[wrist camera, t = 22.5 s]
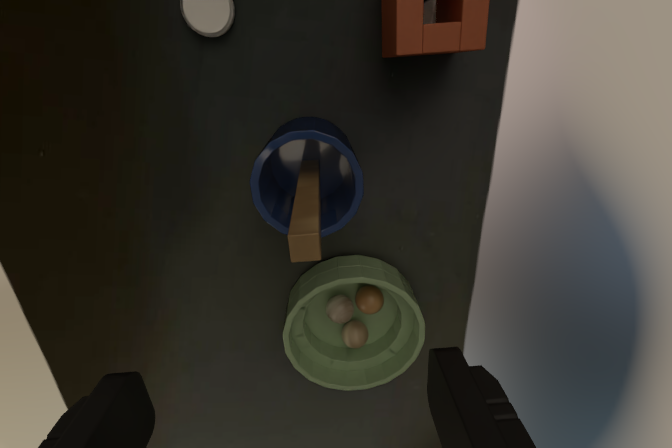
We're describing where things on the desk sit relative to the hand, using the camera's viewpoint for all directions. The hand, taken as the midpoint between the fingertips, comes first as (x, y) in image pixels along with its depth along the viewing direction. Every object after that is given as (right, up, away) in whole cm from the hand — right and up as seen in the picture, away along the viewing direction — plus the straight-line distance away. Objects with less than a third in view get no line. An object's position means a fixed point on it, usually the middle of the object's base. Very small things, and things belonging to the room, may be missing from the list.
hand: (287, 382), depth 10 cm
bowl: (+3, -5, +30) cm, 31 cm away
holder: (+8, +22, +19) cm, 30 cm away
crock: (-1, +10, +23) cm, 26 cm away
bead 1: (+2, -5, +28) cm, 28 cm away
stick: (-1, +10, +23) cm, 25 cm away
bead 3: (+5, -4, +27) cm, 28 cm away
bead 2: (+3, -8, +29) cm, 30 cm away
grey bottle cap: (-9, +21, +18) cm, 29 cm away
